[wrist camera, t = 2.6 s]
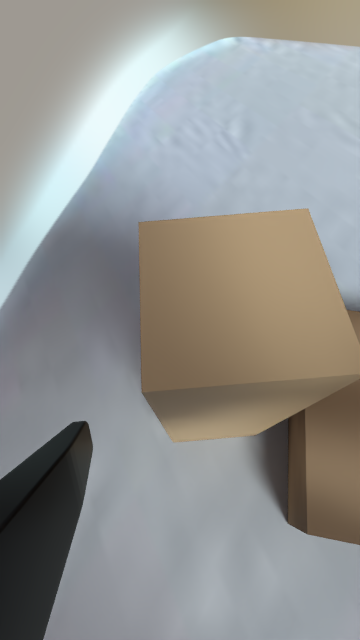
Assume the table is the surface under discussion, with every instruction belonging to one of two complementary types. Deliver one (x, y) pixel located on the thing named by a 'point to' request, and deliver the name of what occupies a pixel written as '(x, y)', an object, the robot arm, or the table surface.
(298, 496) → the walnut podium
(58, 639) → the table surface
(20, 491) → the robot arm
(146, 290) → the kraft carton
